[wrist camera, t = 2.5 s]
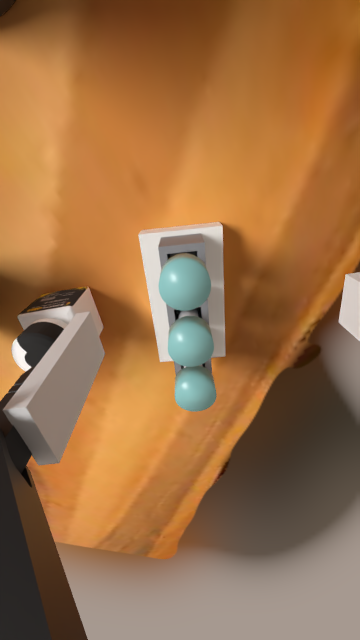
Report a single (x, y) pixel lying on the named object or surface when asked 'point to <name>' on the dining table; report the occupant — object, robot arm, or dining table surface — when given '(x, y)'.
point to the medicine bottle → (50, 323)
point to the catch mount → (209, 249)
